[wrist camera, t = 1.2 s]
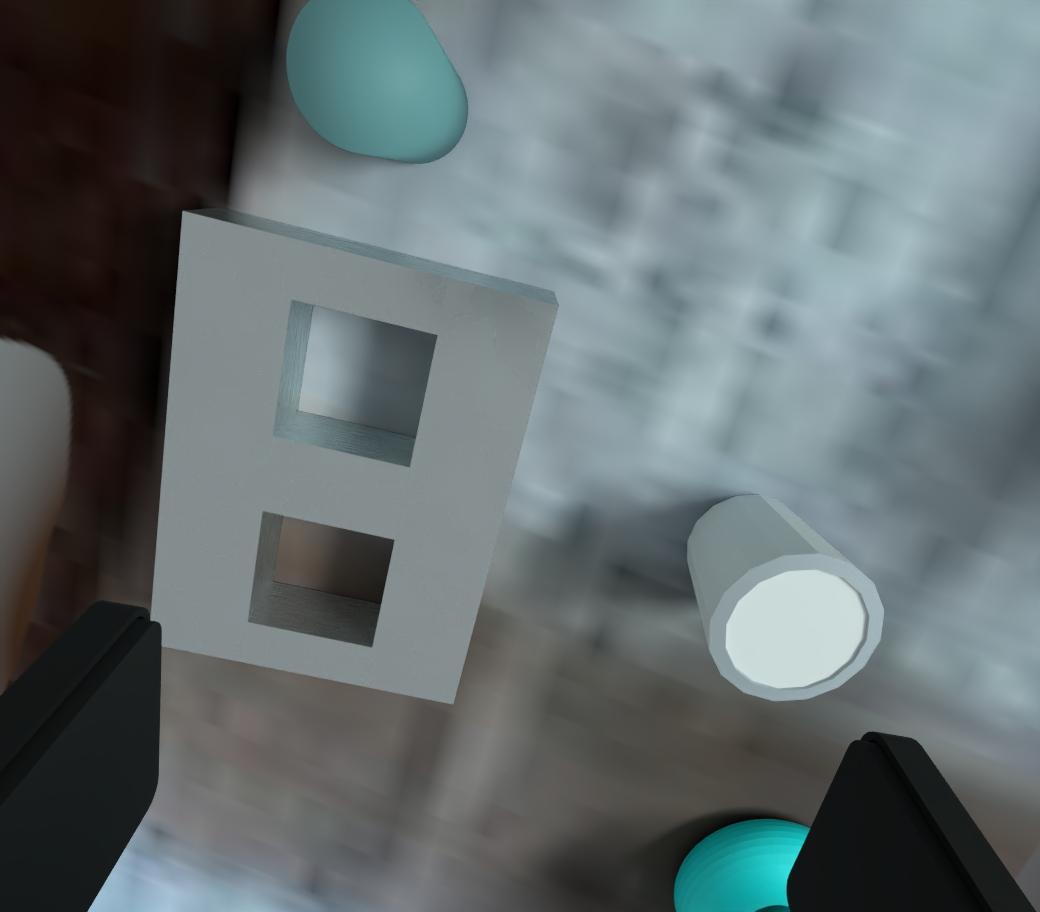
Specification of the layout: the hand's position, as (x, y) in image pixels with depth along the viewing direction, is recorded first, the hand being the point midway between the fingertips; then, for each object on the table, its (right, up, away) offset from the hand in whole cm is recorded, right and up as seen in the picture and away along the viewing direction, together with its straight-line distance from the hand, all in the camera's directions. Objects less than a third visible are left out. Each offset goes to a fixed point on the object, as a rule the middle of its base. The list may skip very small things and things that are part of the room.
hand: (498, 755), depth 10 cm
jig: (-7, +4, +23) cm, 25 cm away
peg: (-4, +17, +18) cm, 26 cm away
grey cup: (+11, 0, +25) cm, 28 cm away
